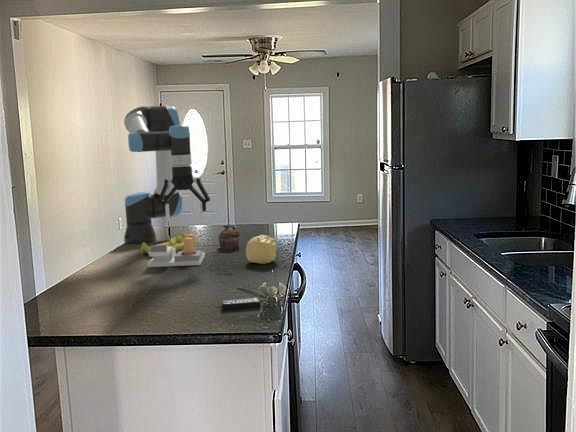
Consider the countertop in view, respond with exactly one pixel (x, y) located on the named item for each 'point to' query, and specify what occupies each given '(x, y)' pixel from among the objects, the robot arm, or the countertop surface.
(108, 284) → the countertop surface
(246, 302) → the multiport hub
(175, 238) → the plastic component
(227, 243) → the cupcake
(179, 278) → the countertop surface
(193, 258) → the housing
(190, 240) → the peg
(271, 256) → the sculpture
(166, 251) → the lid
